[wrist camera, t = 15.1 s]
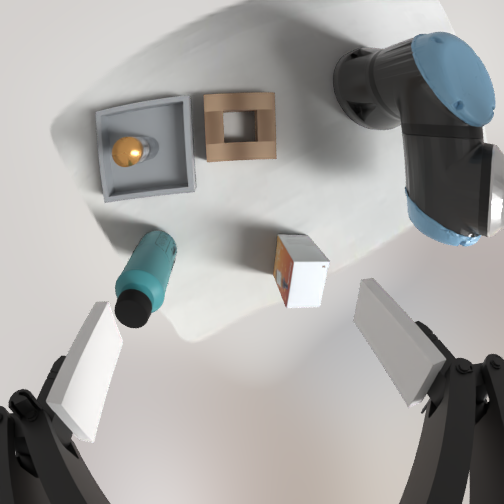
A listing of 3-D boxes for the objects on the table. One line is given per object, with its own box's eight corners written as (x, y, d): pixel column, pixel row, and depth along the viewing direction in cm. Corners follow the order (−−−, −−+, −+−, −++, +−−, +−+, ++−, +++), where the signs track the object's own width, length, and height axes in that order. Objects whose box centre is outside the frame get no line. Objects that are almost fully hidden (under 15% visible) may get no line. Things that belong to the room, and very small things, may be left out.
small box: (277, 233, 46) (293, 260, 37) (308, 234, 47) (331, 260, 37) (272, 275, 49) (285, 309, 40) (301, 275, 50) (320, 308, 41)
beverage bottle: (135, 233, 43) (90, 298, 25) (171, 220, 43) (142, 281, 25) (151, 266, 46) (120, 344, 28) (185, 255, 46) (169, 332, 28)
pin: (158, 135, 36) (138, 134, 27) (160, 158, 38) (141, 164, 28) (135, 138, 36) (110, 139, 26) (137, 161, 38) (113, 169, 28)
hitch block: (270, 95, 37) (274, 92, 34) (272, 157, 41) (276, 158, 38) (204, 97, 36) (203, 94, 33) (207, 160, 40) (206, 162, 37)
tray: (191, 99, 36) (188, 95, 32) (196, 187, 41) (194, 191, 38) (105, 113, 34) (95, 111, 31) (113, 196, 40) (104, 202, 36)
